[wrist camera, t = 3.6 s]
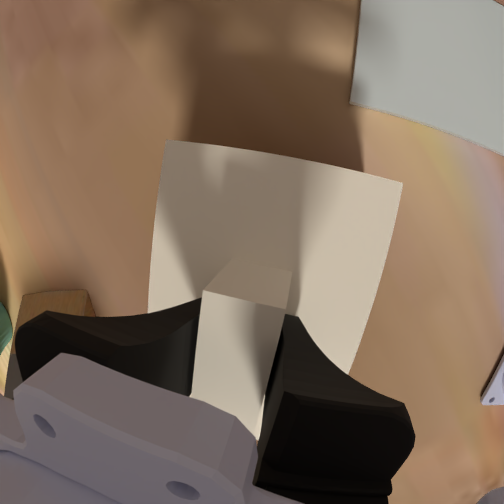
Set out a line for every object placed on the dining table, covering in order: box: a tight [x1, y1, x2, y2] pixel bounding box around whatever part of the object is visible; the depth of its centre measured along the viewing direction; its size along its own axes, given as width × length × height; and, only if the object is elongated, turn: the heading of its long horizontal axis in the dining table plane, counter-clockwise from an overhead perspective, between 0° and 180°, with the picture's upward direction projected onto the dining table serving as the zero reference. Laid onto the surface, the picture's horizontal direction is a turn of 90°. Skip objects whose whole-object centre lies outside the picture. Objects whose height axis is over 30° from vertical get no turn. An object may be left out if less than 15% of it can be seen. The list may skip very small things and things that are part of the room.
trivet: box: [349, 0, 504, 156], centre depth 12 cm, size 11×11×1 cm
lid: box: [148, 140, 403, 440], centre depth 11 cm, size 9×13×5 cm
